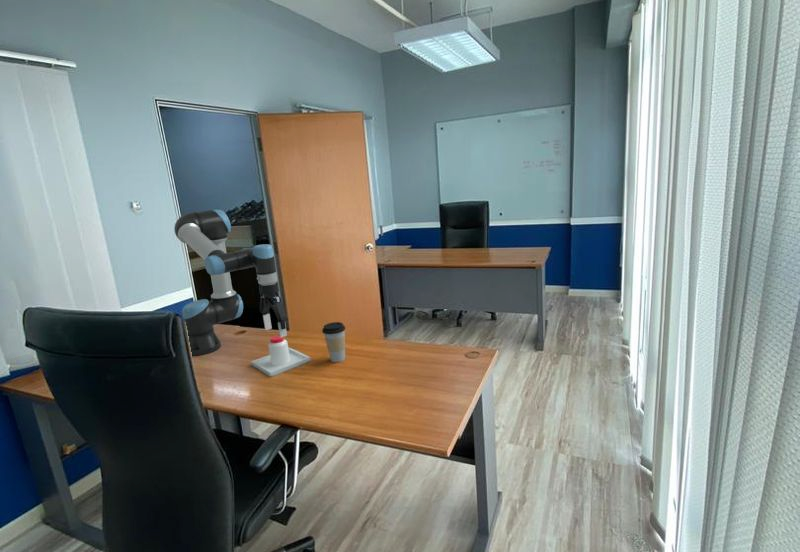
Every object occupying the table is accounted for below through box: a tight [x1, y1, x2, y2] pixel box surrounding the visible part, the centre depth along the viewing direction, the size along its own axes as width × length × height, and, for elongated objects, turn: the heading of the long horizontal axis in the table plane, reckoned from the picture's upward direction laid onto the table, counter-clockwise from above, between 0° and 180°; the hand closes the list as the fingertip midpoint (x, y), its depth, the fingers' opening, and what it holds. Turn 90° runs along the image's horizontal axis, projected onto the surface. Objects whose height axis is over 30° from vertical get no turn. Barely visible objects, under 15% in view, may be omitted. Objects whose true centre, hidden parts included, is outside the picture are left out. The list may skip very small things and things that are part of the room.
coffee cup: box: [322, 321, 346, 363], centre depth 175 cm, size 9×9×15 cm
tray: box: [250, 347, 312, 378], centre depth 178 cm, size 18×18×2 cm
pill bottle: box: [267, 334, 290, 366], centre depth 177 cm, size 8×8×11 cm
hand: (275, 332), depth 176 cm, fingers open, 13 cm apart
